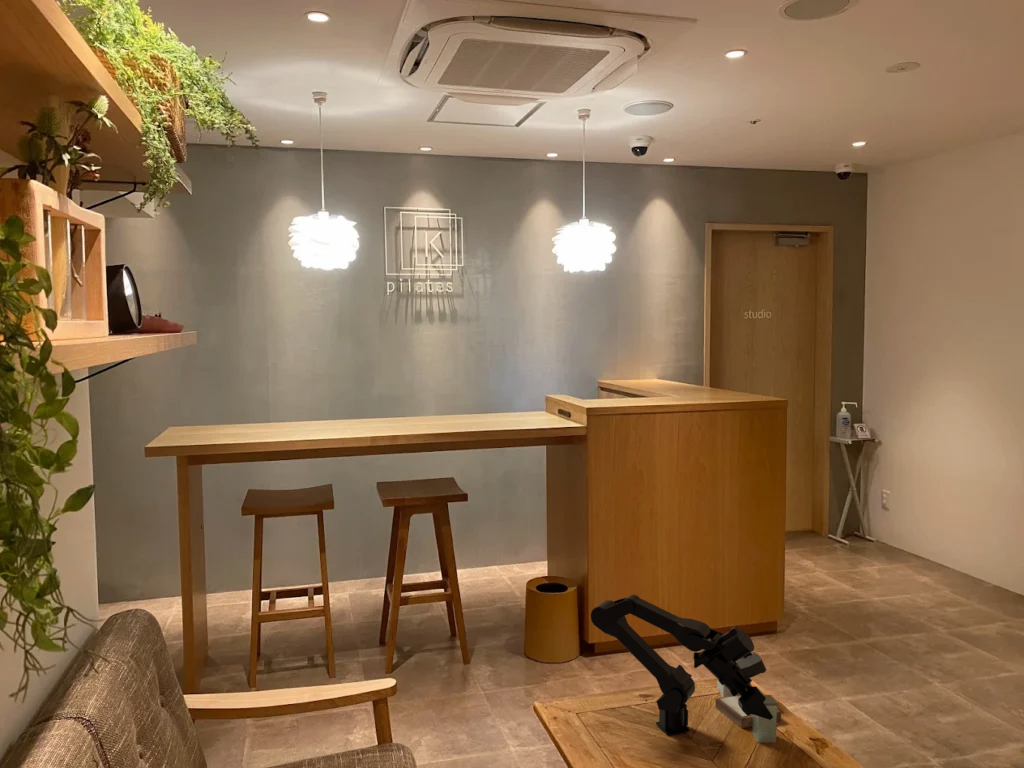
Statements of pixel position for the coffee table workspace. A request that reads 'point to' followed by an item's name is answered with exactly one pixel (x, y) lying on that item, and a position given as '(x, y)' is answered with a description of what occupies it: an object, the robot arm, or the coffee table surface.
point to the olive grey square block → (766, 723)
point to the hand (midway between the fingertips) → (766, 710)
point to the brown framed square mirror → (736, 711)
